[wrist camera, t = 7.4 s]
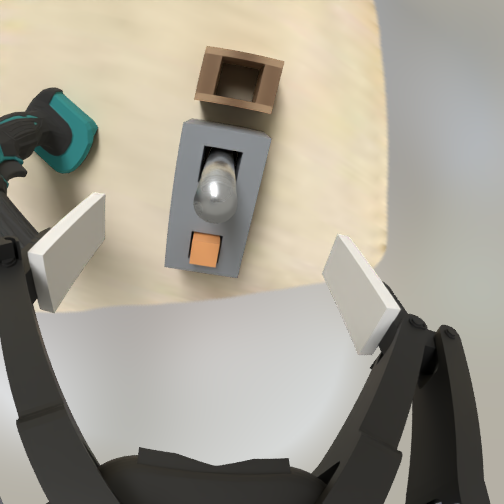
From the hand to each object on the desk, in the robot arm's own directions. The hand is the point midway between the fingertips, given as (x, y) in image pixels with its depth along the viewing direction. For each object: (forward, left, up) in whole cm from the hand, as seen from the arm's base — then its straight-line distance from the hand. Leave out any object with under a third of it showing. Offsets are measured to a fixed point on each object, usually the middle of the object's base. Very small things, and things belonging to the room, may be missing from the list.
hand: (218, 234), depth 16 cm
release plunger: (0, -10, -22) cm, 24 cm away
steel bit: (0, 0, -23) cm, 23 cm away
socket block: (0, -4, -23) cm, 23 cm away
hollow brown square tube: (0, +9, -23) cm, 25 cm away
